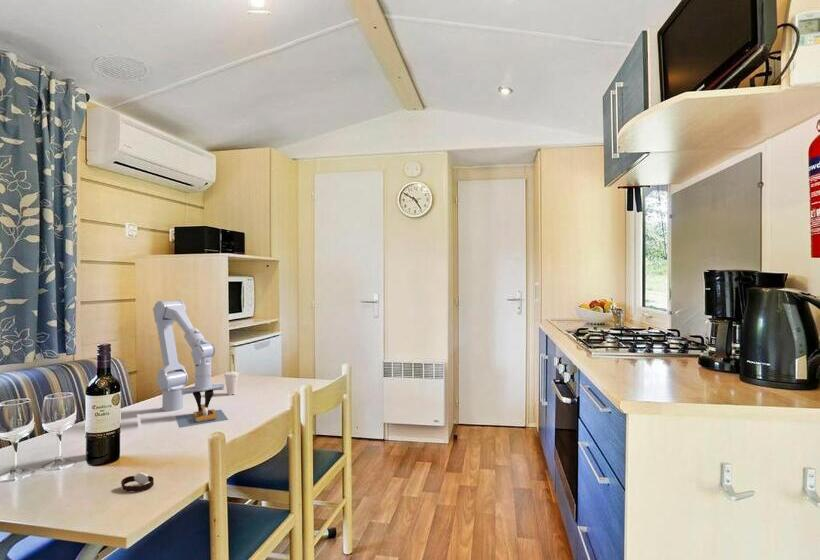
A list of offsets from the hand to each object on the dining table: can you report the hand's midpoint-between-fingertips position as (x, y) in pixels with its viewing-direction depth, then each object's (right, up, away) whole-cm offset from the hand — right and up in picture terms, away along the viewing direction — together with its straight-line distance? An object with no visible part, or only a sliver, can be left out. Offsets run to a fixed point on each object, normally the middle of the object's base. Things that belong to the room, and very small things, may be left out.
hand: (202, 410), depth 166 cm
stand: (+1, -2, -4) cm, 5 cm away
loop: (+2, -1, -3) cm, 3 cm away
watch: (+10, -3, -56) cm, 57 cm away
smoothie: (-3, -3, +34) cm, 34 cm away
